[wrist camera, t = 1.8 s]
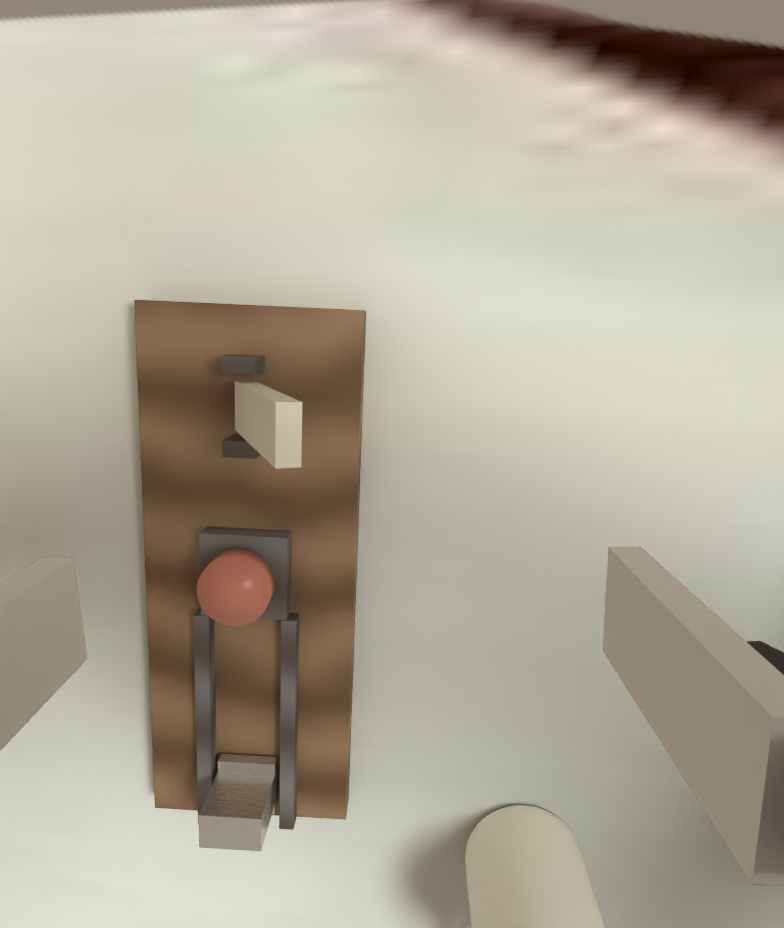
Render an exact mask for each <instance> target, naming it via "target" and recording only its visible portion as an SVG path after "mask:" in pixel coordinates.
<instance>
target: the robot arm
mask: <svg viewBox="0 0 784 928" xmlns="http://www.w3.org/2000/svg"><path fill="white" fill-rule="evenodd" d="M603 652H604V653H605V655H606V656H607V658H608V660H609V661H610V663H611V664H612V666H613V667H614V669H615V671H616V672H617V674H618V675H619V677H620V678H621V680H622V682H623V683H624V685H625V686H626V688H627V689H628V691H629V693H630V694H631V696H632V697H633V699H634V700H635V702H636V703H637V705H638V707H639V708H640V710H641V711H642V713H643V714H644V716H645V718H646V719H647V721H648V722H649V724H650V725H651V727H652V729H653V730H654V732H655V733H656V735H657V736H658V738H659V740H660V741H661V743H662V744H663V746H664V747H665V749H666V751H667V752H668V754H669V755H670V757H671V758H672V760H673V762H674V763H675V765H676V766H677V768H678V769H679V771H680V773H681V774H682V776H683V777H684V779H685V780H686V782H687V784H688V785H689V787H690V788H691V790H692V791H693V793H694V795H695V796H696V798H697V799H698V801H699V802H700V804H701V806H702V807H703V809H704V810H705V812H706V813H707V815H708V817H709V818H710V820H711V821H712V823H713V824H714V826H715V828H716V829H717V831H718V832H719V834H720V835H721V837H722V839H723V840H724V842H725V843H726V845H727V846H728V848H729V849H730V851H731V853H732V854H733V856H734V857H735V859H736V860H737V862H738V864H739V865H740V867H741V868H742V870H743V871H744V873H745V875H746V876H747V878H748V879H749V881H750V882H751V884H752V885H777V884H784V653H783V652H781V651H779V650H777V649H775V648H773V647H771V646H769V645H767V644H765V643H763V642H761V641H749V642H746V641H745V640H744V639H743V638H742V637H740V636H739V635H738V634H737V633H736V632H735V631H734V630H733V629H732V628H730V627H729V626H728V625H727V624H726V623H725V622H724V621H723V620H722V619H720V618H719V617H718V616H717V615H716V614H715V613H714V612H713V611H712V610H710V609H709V608H708V607H707V606H706V605H705V604H704V603H703V602H701V601H700V600H699V599H698V598H697V597H696V596H695V595H694V594H693V593H691V592H690V591H689V590H688V589H687V588H686V587H685V586H684V585H683V584H681V583H680V582H679V581H678V580H677V579H676V578H675V577H674V576H672V575H671V574H670V573H669V572H668V571H667V570H666V569H665V568H664V567H662V566H661V565H660V564H659V563H658V562H657V561H656V560H655V559H654V558H652V557H651V556H650V555H649V554H648V553H647V552H646V551H645V550H644V549H642V548H641V547H609V550H608V568H607V585H606V603H605V620H604V638H603ZM86 660H87V653H86V646H85V639H84V632H83V625H82V618H81V611H80V604H79V597H78V590H77V583H76V576H75V569H74V563H73V557H45V558H40V559H39V560H37V561H36V562H34V563H33V564H31V565H29V566H28V567H26V568H25V569H23V570H22V571H20V572H18V573H17V574H15V575H14V576H12V577H11V578H9V579H8V580H6V581H4V582H3V583H1V584H0V751H1V749H2V748H3V747H4V746H5V745H6V744H7V743H8V742H9V741H10V740H11V739H12V738H13V737H14V736H15V735H16V734H17V733H18V732H19V730H20V729H21V728H22V727H23V726H24V725H25V724H26V723H27V722H28V721H29V720H30V719H31V718H32V717H33V716H34V715H35V714H36V712H37V711H38V710H39V709H40V708H41V707H42V706H43V705H44V704H45V703H46V702H47V701H48V700H49V699H50V698H51V697H52V696H53V694H54V693H55V692H56V691H57V690H58V689H59V688H60V687H61V686H62V685H63V684H64V683H65V682H66V681H67V680H68V679H69V678H70V676H71V675H72V674H73V673H74V672H75V671H76V670H77V669H78V668H79V667H80V666H81V665H82V664H83V663H84V662H85V661H86Z"/></svg>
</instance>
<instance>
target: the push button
mask: <svg viewBox="0 0 784 928" xmlns="http://www.w3.org/2000/svg"><path fill="white" fill-rule="evenodd" d="M274 589H275V579H274V575H273V572H272V570H271V568H270V566H269V565H268V563H267V562H266V561H265V560H264V559H263V558H262V557H260V556H259V555H257V554H256V553H254V552H251V551H248V550H243V549H233V550H228V551H225V552H223V553H221V554H219V555H218V556H217V557H215V558H214V559H213V560H212V562H211V563H210V564H209V565H208V566H207V567H206V568H205V569H204V571H203V572H202V573H201V575H200V577H199V580H198V583H197V597H198V601H199V603H200V605H201V607H202V609H203V610H204V612H205V613H206V614H207V615H208V616H209V617H210V618H211V619H213V620H214V621H216V622H218V623H220V624H223V625H227V626H244V625H247V624H250V623H252V622H254V621H255V620H257V619H258V618H259V617H260V616H261V615H262V614H263V613H264V611H265V609H266V607H267V606H268V604H269V602H270V600H271V598H272V596H273V593H274Z"/></svg>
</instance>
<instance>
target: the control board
mask: <svg viewBox="0 0 784 928" xmlns="http://www.w3.org/2000/svg"><path fill="white" fill-rule="evenodd" d="M135 323H136V348H137V372H138V397H139V422H140V447H141V471H142V496H143V521H144V545H145V570H146V595H147V620H148V644H149V669H150V694H151V719H152V743H153V768H154V793H155V808H168V809H184V810H198V824H199V813H200V811H201V809H202V806H203V804H204V802H205V800H206V797H207V795H208V793H209V790H210V788H211V786H212V784H213V781H214V779H215V777H216V775H217V772H218V760H219V758H220V755H221V754H236V755H253V756H270V757H277V807H276V810H275V814H272V815H280V819H279V829H294V825H295V821H296V816H298V817H314V818H331V819H346V814H347V806H348V797H349V769H350V742H351V714H352V686H353V659H354V631H355V603H356V576H357V548H358V520H359V493H360V465H361V437H362V409H363V382H364V354H365V326H366V311H364V310H343V309H321V308H300V307H278V306H257V305H235V304H214V303H192V302H171V301H149V300H135ZM235 381H256V382H258V383H260V384H263V385H265V386H267V387H269V388H272V389H274V390H276V391H278V392H280V393H283V394H285V395H287V396H289V397H292V398H294V399H296V400H298V401H301V402H302V456H301V467H300V468H277V469H275V468H274V467H273V466H272V465H271V464H270V463H269V462H268V461H267V460H266V459H265V458H264V457H263V456H262V455H261V454H260V453H259V452H258V451H256V450H255V449H254V448H253V447H252V446H251V445H250V444H249V443H248V442H247V441H246V440H245V439H244V438H243V437H242V436H241V435H240V434H239V433H238V432H237V431H236V430H235ZM233 549H243V550H248V551H251V552H254V553H256V554H257V555H259V556H260V557H262V558H263V559H264V560H265V561H266V562H267V563H268V565H269V566H270V568H271V570H272V572H273V575H274V579H275V589H274V593H273V596H272V598H271V600H270V602H269V604H268V606H267V607H266V609H265V611H264V613H263V614H262V615H261V616H260V617H259V618H258V619H257V620H255V621H254V622H252V623H250V624H247V625H244V626H227V625H223V624H220V623H218V622H216V621H214V620H213V619H211V618H210V617H209V616H208V615H207V614H206V613H205V612H204V610H203V609H202V607H201V605H200V603H199V601H198V597H197V583H198V580H199V577H200V575H201V573H202V572H203V571H204V569H205V568H206V567H207V566H208V565H209V564H210V563H211V562H212V560H213V559H214V558H215V557H217V556H218V555H219V554H221V553H223V552H225V551H228V550H233Z"/></svg>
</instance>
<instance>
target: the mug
mask: <svg viewBox="0 0 784 928" xmlns="http://www.w3.org/2000/svg"><path fill="white" fill-rule="evenodd" d="M465 866H466V878H467V887H468V897H469V907H470V916H471V926H472V928H605V927H604V924H603V921H602V917H601V914H600V911H599V908H598V905H597V902H596V899H595V896H594V893H593V890H592V887H591V884H590V881H589V878H588V875H587V872H586V869H585V866H584V863H583V860H582V857H581V854H580V851H579V848H578V845H577V843H576V841H575V839H574V837H573V835H572V833H571V831H570V830H569V829H568V827H567V826H566V825H565V824H564V823H563V822H562V821H561V820H560V819H559V818H557V817H556V816H555V815H553V814H551V813H550V812H548V811H546V810H543V809H541V808H537V807H533V806H525V805H517V806H509V807H505V808H501V809H499V810H496V811H494V812H492V813H490V814H489V815H487V816H486V817H484V818H483V819H482V820H481V821H480V822H479V823H478V824H477V825H476V827H475V828H474V829H473V831H472V833H471V835H470V837H469V839H468V842H467V846H466V853H465Z"/></svg>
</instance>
